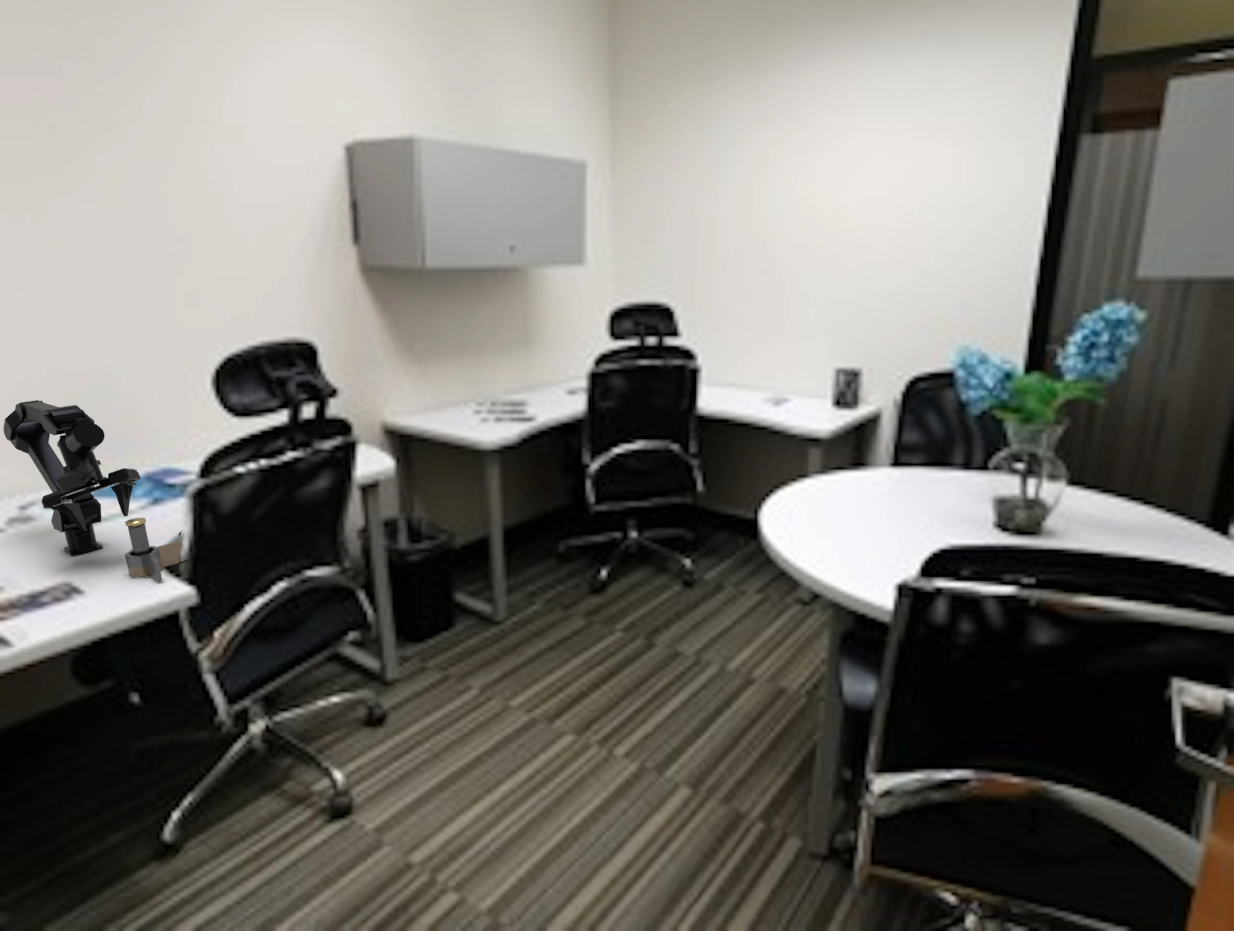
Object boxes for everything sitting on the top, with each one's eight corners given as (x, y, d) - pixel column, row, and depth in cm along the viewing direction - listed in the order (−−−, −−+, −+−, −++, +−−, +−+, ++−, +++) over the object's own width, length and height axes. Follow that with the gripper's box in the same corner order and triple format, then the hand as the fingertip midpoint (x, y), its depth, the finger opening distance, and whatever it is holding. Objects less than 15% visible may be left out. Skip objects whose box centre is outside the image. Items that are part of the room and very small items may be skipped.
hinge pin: (132, 574, 165) (121, 522, 161) (147, 567, 168) (136, 516, 165) (145, 576, 164) (134, 524, 160) (160, 569, 167) (149, 518, 164)
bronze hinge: (126, 572, 166) (122, 552, 164) (182, 556, 174) (178, 536, 173) (145, 587, 158) (140, 566, 157) (202, 569, 167) (198, 549, 165)
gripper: (13, 473, 157) (40, 541, 157) (102, 442, 160) (129, 509, 160) (46, 474, 168) (71, 537, 168) (129, 445, 171) (153, 508, 171)
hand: (105, 523), depth 167 cm, fingers open, 9 cm apart
